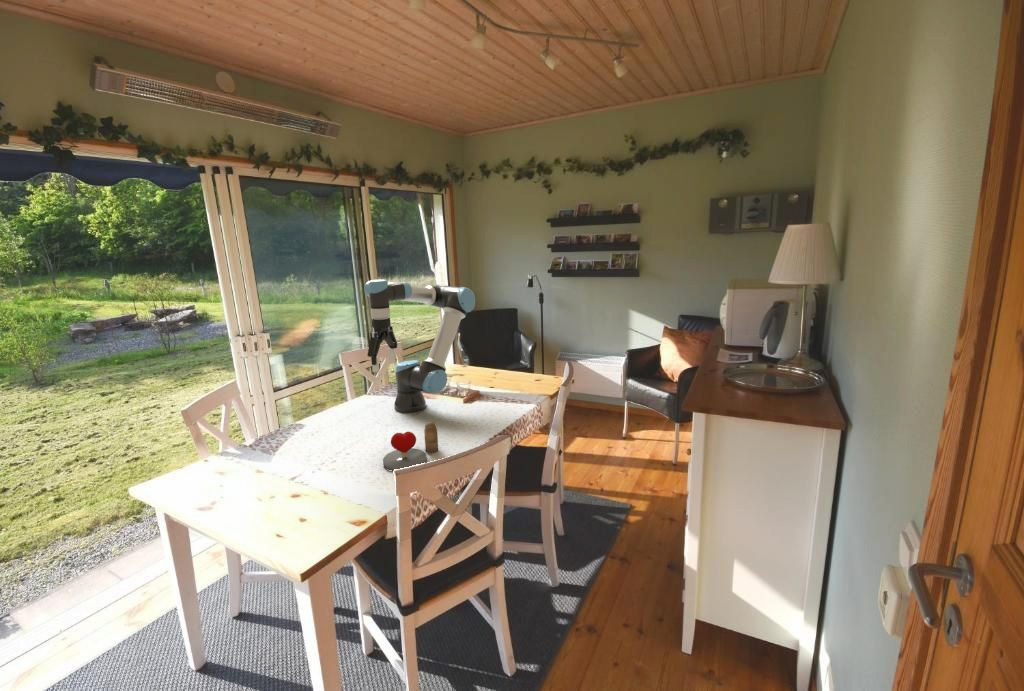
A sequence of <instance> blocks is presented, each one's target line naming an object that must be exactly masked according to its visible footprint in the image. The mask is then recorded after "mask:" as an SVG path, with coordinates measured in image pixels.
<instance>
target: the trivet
mask: <svg viewBox="0 0 1024 691" xmlns="http://www.w3.org/2000/svg"><path fill="white" fill-rule="evenodd" d="M424 462H427V453H426V451H424V450H421V449H419V448H415V447H414V448H413V447H412V448H411V449H410V450H408V456H407V457H406V458H403V457H401V452H400V451H398V450H396V449H394V450H392V451H389V452H388V453H386V454H385V456H384V457H383V458H382V465H384V466H383V467H384V469H386V468H387V469H388V471H389V470H392V471H391V472H393V470H394V469H400V468H404V467H409V466H412V465H416V464H421V463H424ZM387 469H386V470H387Z"/></svg>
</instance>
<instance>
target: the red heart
mask: <svg viewBox="0 0 1024 691" xmlns="http://www.w3.org/2000/svg"><path fill="white" fill-rule="evenodd" d="M416 442H417V437H416V435H415V433H413V432H412V431H405V432H403V433H402V432H396V433H394V434H393V435H392V436H391V439H390V445H391V447H392V448H393V449H394V450H398V451H400V452H401V457H403V458H406V457H407V456H408V450H410V449H411V448H413V447H414V446H415V445H416Z"/></svg>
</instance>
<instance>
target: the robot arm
mask: <svg viewBox="0 0 1024 691" xmlns="http://www.w3.org/2000/svg"><path fill="white" fill-rule="evenodd" d="M363 288H364V289H363V290H364V293H365V295H366V296H367V297H369V305H370V316H371V318H372V319H371V327H372V329H374V331H373V332H370V334H369V335H370V337H369V345H368V349H367V350H368V351H367V357H368V358H371V359H370V360H371V367H372V369H371V370H372V373H378V374H379V373H380V363H379V360H380V359H379V356H378V354H379V351H380V347H381V344H382V343H383V341H385V343H386V345H387V346H388V348H387V349H388V350H387V352H388V363H389V364H396V349H397V348H398V341H397V339H396V336H395V334H394V328H393V326H392V323H391V318H390V317H391V310H390V303H392V302H397V301H403V302H404V301H405V302H413V303H423V304H424V305H426V306H430V307H431V306H432V307H436V308H438V309H439V308H440V309H442V310H443V313H444V314H443V315H442V316H443V317H442V319H441V322H440V324H439V327H438V329H437V332H436V334H435V336H434V340H433V343H432V344H431V348H430V350H429V354H428V356H427V358H425V359H423V360H422V363H420V360H415V359H413V360H405V361H401V362H398V363H397V364H396V366H395V371H394V372H395V381H396V382H395V383H396V397H395V401H394V405H393V406H394V410H395V411H396V412H399V413H415V412H420V411H422V410H424V409H425V408H426V407H427V401H426V399H425V397H424V394H423V392H424V393H426V394H430V395H431V394H432V395H435V394H439V393H440V392H443V391H444V389H445V387H446V386H447V383H448V374H447V372H446V371H447V368H446V365H445V364H446V362H447V359H448V356H449V354H450V351H451V347H452V346H453V342H454V340H455V337H456V334H457V332H458V329H459V326H460V323H461V320H463V319H465V318H466V316H467V314H468V313H471V312H472V311H473V310H474V308H475V307H476V306H475V305H476V297H475V293H474V291H473V290H472V289H470V288H469V287H464V286H452V285H451V286H450V285H434V286H433V285H427V286H418V285H411V284H410V283H409V282H407V281H398V282H397V281H396V282H395V281H388V280H387V279H372V280H368V281H367V282H366V283H365V284H364V287H363Z"/></svg>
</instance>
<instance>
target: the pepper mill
mask: <svg viewBox="0 0 1024 691" xmlns="http://www.w3.org/2000/svg"><path fill="white" fill-rule="evenodd" d="M423 431H424V433H423V434H424V450H425V451H424V452H425V453H426V454H436V453H438V451H439V439H438V438H439V436H438V428H437V424H436V423H435V422H434V421H428V422H426V424H425V426H424V430H423Z"/></svg>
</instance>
